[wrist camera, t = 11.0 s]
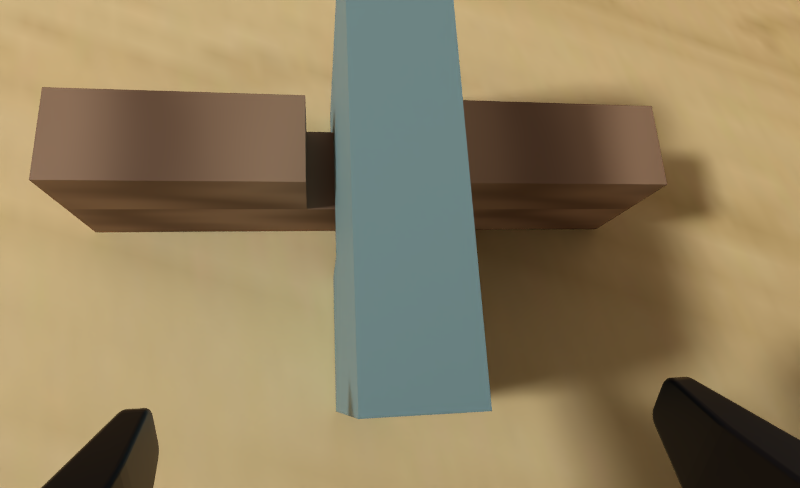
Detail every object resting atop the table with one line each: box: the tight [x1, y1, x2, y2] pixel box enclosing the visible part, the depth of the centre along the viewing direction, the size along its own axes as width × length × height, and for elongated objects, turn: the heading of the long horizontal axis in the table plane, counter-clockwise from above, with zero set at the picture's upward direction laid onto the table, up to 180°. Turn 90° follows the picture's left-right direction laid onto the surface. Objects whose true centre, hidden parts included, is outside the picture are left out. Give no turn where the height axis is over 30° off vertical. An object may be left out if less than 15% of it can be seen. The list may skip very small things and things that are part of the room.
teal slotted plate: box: [330, 0, 492, 419], centre depth 17 cm, size 12×2×11 cm, turn 3°
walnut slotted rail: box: [29, 87, 667, 232], centre depth 20 cm, size 20×3×5 cm, turn 93°
